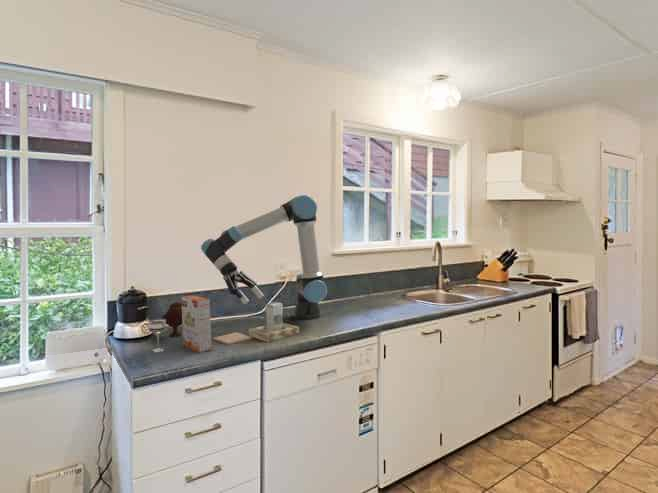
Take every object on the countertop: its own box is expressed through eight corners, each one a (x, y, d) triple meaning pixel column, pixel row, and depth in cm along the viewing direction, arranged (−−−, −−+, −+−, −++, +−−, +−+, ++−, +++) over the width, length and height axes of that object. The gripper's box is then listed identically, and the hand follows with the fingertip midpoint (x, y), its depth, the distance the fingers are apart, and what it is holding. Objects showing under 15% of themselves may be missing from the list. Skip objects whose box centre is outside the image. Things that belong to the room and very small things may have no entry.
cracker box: (182, 346, 173) (180, 296, 172) (195, 343, 177) (194, 294, 176) (198, 353, 163) (196, 300, 162) (212, 350, 167) (210, 298, 166)
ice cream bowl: (162, 333, 193) (161, 301, 192) (187, 331, 197) (186, 300, 196) (162, 339, 183) (160, 306, 182) (188, 337, 187) (187, 304, 186)
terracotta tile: (236, 334, 191) (236, 332, 191) (251, 338, 183) (251, 337, 183) (213, 339, 182) (213, 337, 182) (228, 344, 174) (228, 343, 174)
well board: (279, 328, 201) (279, 322, 201) (299, 333, 191) (299, 326, 191) (248, 335, 188) (248, 329, 188) (268, 341, 178) (267, 334, 178)
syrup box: (274, 332, 193) (273, 301, 193) (283, 334, 190) (282, 303, 189) (265, 334, 189) (264, 303, 188) (274, 337, 185) (273, 305, 184)
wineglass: (169, 347, 171) (168, 318, 171) (163, 352, 165) (162, 322, 164) (153, 347, 171) (152, 319, 170) (146, 353, 164) (145, 323, 164)
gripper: (235, 269, 208) (262, 300, 204) (205, 275, 185) (234, 310, 181) (244, 258, 206) (272, 290, 202) (214, 263, 183) (245, 299, 179)
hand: (254, 300), depth 191 cm, fingers open, 13 cm apart
